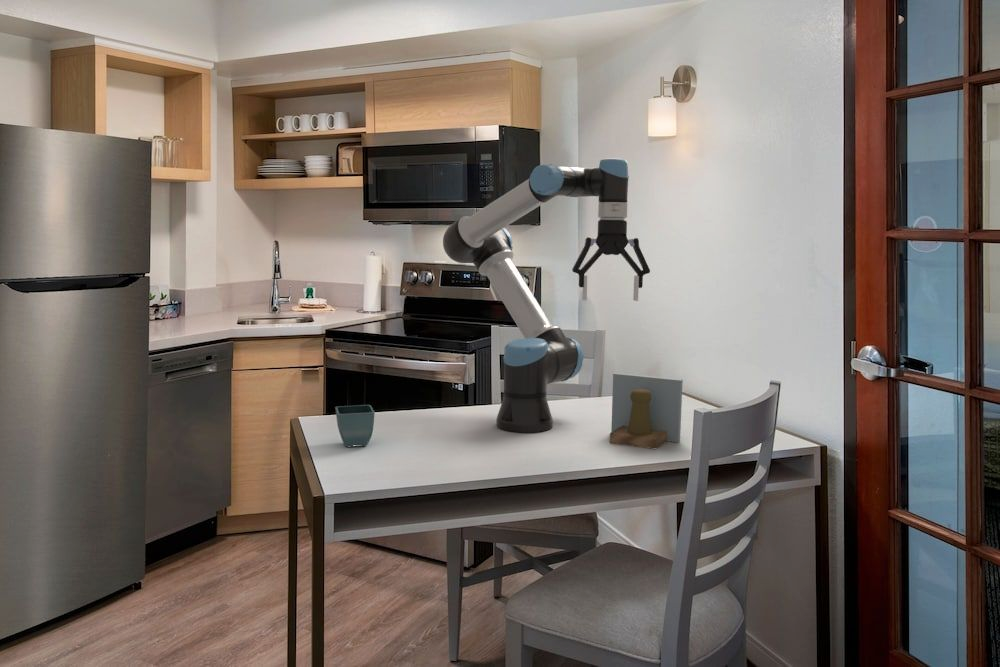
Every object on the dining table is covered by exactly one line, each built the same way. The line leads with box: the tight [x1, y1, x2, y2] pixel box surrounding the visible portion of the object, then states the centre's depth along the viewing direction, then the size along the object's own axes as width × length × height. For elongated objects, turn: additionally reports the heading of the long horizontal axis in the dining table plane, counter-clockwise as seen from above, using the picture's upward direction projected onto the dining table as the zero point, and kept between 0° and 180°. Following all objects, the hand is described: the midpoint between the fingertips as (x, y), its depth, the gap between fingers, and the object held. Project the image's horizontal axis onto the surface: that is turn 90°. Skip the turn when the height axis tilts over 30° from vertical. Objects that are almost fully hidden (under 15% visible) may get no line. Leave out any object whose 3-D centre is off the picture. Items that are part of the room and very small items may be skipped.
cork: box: [628, 389, 651, 435], centre depth 214 cm, size 6×6×11 cm
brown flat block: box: [609, 426, 668, 449], centre depth 216 cm, size 12×9×2 cm
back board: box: [610, 372, 684, 443], centre depth 219 cm, size 18×2×16 cm, turn 62°
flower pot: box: [334, 404, 376, 447], centre depth 209 cm, size 9×9×9 cm
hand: (610, 300), depth 225 cm, fingers open, 13 cm apart
